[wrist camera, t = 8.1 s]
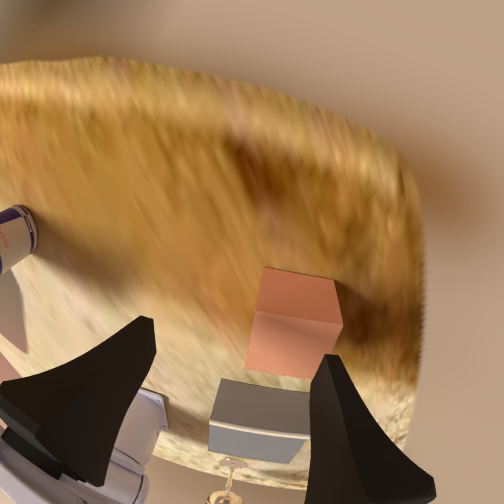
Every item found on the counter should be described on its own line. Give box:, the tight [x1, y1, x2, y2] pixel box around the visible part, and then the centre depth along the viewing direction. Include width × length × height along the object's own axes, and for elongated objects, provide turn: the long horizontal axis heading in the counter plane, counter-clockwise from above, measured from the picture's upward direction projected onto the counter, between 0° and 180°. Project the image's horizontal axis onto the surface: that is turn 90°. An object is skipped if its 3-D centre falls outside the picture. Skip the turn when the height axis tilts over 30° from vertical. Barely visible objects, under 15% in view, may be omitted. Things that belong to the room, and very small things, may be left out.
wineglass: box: [205, 459, 247, 504], centre depth 31 cm, size 6×6×12 cm
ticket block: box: [208, 379, 310, 464], centre depth 25 cm, size 8×9×5 cm
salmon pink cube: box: [244, 267, 343, 379], centre depth 18 cm, size 5×5×5 cm
